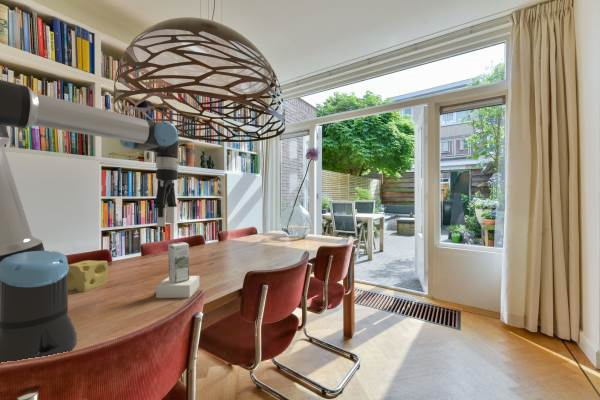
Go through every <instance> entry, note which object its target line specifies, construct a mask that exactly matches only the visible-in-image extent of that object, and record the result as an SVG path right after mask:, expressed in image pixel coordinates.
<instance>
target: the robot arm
mask: <svg viewBox="0 0 600 400" xmlns="http://www.w3.org/2000/svg"><path fill="white" fill-rule="evenodd" d="M32 126H35V127H41V128H45V129H46V128H47V129H53V130H58V131H65V132H68V133H69V132H71V133H76V134H81V135H82V134H83V135H88V136H94V137H101V138H108V139H112V140H119V143H120V145H121V146H122V147H124V148H127V149H131V150H139V151H146V152H151V153H152V152H153V153H156V154H155V156H156V158H155V168H156V169H155V179H156V180H158V181H157V190H156V198H155V204H154V206H153V207H154V209H156V227H166V224H174V223H175V209H176V208H177V207H178V206H177V205H178V204H177V202H176V192H175V183H174V182H173V181H177V180H178V176H179V175H178V173H179V172H178V167H179V165H178V164H180V161H179V143H180V142H179V134H178V130H177V127H176V126H175V125H174V124H173V123H172V122H170V121H158V122H156V121H152V120H149V119H148V120H147V119H143V118H140V117H135V116H131V115H127V114H122V113H119V112H114V111H111V110H106V109H102V108H98V107H94V106H90V105H87V104H81V103H79V102H78V103H77V102H74V101H70V100H69V101H68V100H66V99H62V98H56V97H53V96H48V95H44V94H41V93H36V92H34V91H33V90H32V89H31V88H30V86H26V85H23V84H19V83H15V82H11V81H7V80H5V79H0V363H1V362H7V361H17V360H22V359H28V358H35V357H42V356H48V355H53V354H57V353H63V352H67V351H69V352H71V351H72V350H73V349H74V348H75V347H76V346H77V343H78V339H77V337H78V333H77V331H76V329H75V327H74V324H73V322H72V320H71V318H70V315H69V311H68V309H69V308H68V306H69V298H68V297H69V290H68V270H69V265H70V264H69V262H68V257H67V256H66V255H65V254H64V253H62V252H60V251H59V252H58V251H49V250H45V247H44V244H43V240H41V239H39V238H36V237H34V236H33V234H32V232H31V229H30V226H29V222H28V219H27V216H26V213H25V209H24V207H23V204H22V201H21V197H20V194H19V191H18V188H17V184H16V182H15V178H14V175H13V172H12V169H11V166H10V163H9V160H8V157H7V153H6V150H5V145H6V144H8V142H9V141H10V140H11V138H10V135H9V131H8V129H7V127H12V128H19V129H20V128H21V129H25V130H26V129H28V128H30V127H32ZM166 204H167V206H166ZM165 207H166V208H165Z"/></svg>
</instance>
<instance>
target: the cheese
mask: <svg viewBox="0 0 600 400" xmlns="http://www.w3.org/2000/svg"><path fill="white" fill-rule="evenodd" d="M108 263H109V262H108V261H107V260H90V259H88V260H82V261H78V262H74V263H70V264H68V265H69V270H68V291H77V292H82V293H85V292H88V291H91V290H93V289H97V288H99V287H102V286H106V284H107V280H108V274H109V265H108Z"/></svg>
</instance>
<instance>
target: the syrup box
mask: <svg viewBox="0 0 600 400" xmlns="http://www.w3.org/2000/svg"><path fill="white" fill-rule="evenodd" d="M167 246H168V247H167V248H168V251H167V253H168V277H169V280H170V281H172V282H174V283H178V282H182V281H186V280H189V276H190V252H189V251H190V249H189V248H190V244H189V243H187V242H184V241H181V242H180V241H179V242H175V243H168V245H167Z"/></svg>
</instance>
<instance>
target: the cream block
mask: <svg viewBox="0 0 600 400" xmlns="http://www.w3.org/2000/svg"><path fill="white" fill-rule="evenodd" d="M198 287H199V288H200V275H189V280H186V281H182V282H178V283H174V282H172V281H170V280H169V276H168V277H166V278H165V279H163V280H162V281H161V282H159V283H158V284H157V285H156V287H155V288H156V289H155V290H156V291H155V293H156V299H159V298H160V299H164V298H165V299H167V298H170V299H173V298H174V299H175V298H178V299H179V298H180V299H181V298H191V297H192V295H193V294H195V293H196V291H197V290H198V289H199V288H198ZM197 288H198V289H197Z"/></svg>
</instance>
